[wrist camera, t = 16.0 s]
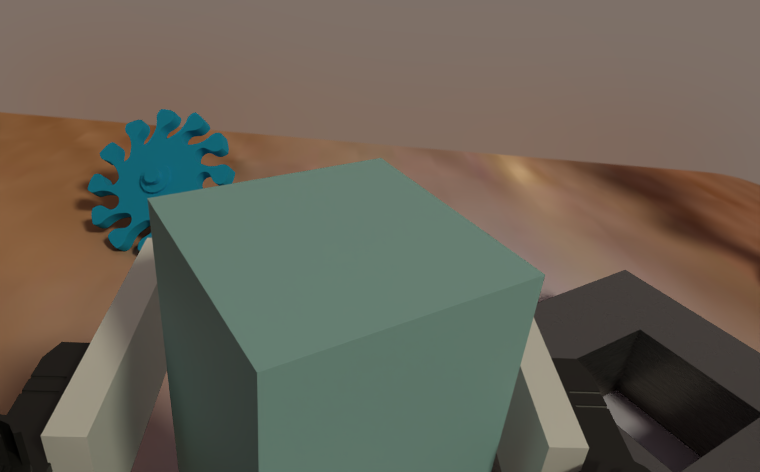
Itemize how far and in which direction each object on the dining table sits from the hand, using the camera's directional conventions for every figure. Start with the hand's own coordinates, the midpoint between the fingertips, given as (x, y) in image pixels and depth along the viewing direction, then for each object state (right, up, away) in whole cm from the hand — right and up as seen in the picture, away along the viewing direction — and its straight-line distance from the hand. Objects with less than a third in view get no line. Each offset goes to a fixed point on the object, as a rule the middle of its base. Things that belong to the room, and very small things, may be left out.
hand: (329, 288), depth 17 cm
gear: (-13, +1, +24) cm, 28 cm away
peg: (-1, -12, +2) cm, 12 cm away
